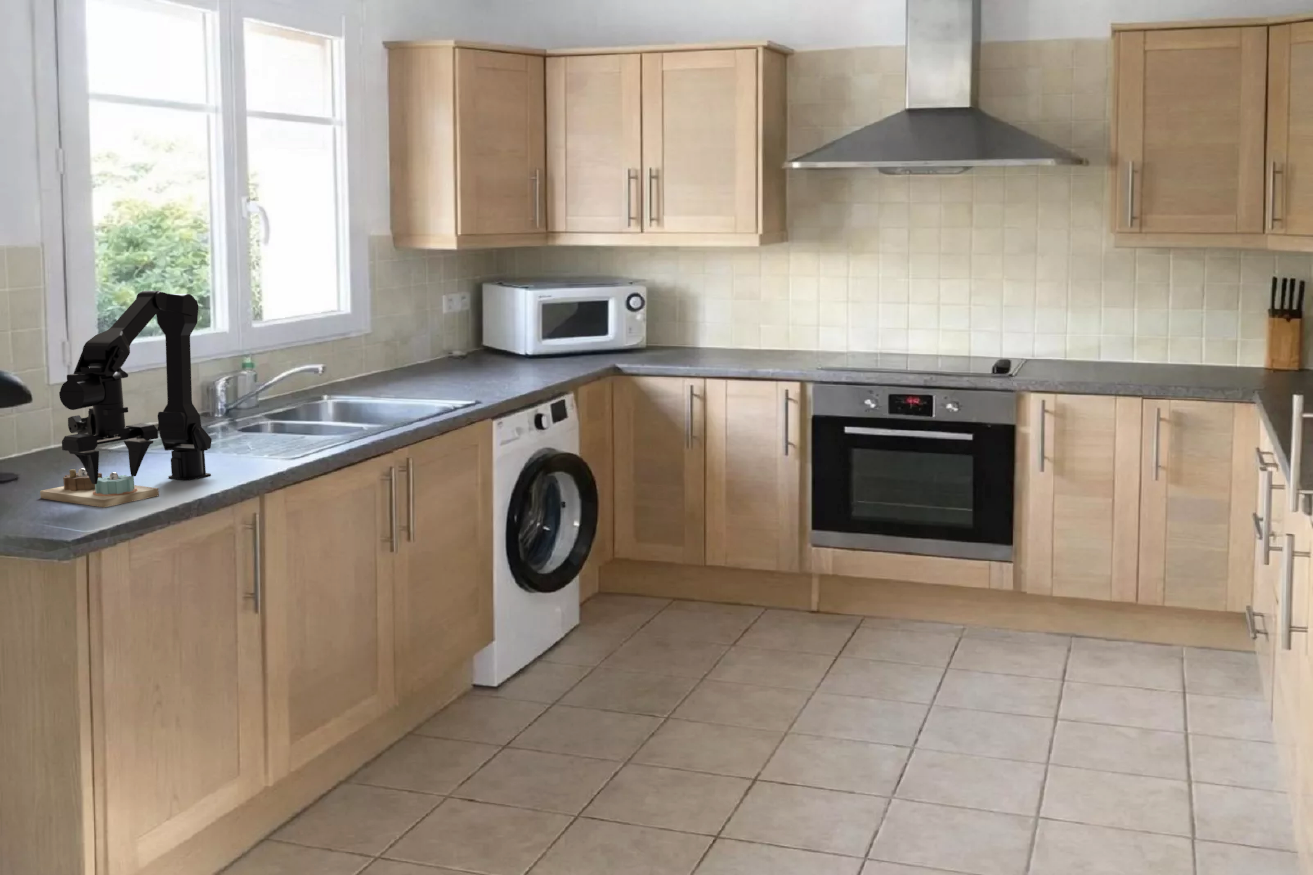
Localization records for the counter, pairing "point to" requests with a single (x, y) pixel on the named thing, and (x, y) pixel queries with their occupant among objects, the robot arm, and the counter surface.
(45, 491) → the gear board
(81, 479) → the gear
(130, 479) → the loose gear
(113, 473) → the steel pegs
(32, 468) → the counter surface
